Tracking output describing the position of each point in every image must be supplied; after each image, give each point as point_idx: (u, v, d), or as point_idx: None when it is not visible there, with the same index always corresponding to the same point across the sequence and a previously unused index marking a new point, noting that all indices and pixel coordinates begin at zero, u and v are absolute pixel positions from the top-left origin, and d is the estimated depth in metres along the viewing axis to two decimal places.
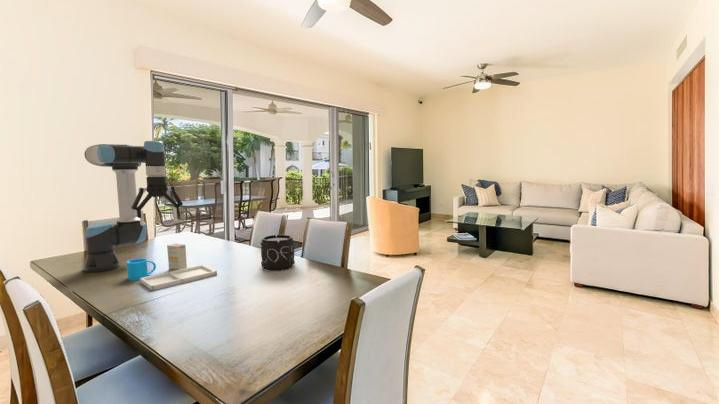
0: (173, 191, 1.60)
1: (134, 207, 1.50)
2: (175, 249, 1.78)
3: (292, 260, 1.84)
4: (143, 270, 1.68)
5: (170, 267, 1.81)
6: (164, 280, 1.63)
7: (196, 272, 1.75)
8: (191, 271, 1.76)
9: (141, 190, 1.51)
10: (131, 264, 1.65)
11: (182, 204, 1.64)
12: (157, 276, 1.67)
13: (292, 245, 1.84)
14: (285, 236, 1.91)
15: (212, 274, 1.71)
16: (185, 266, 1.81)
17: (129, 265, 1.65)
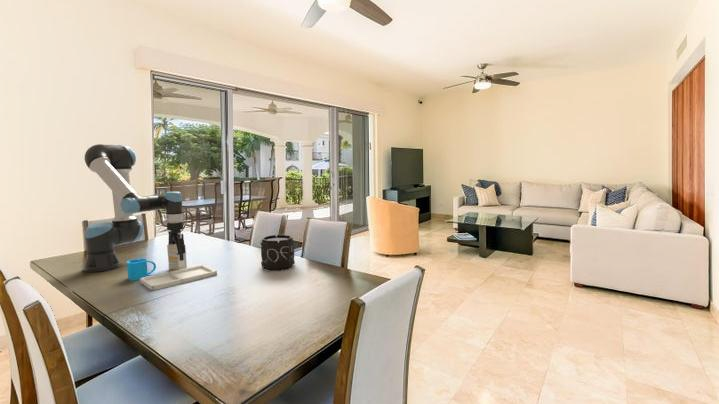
0: (178, 239, 1.75)
1: None
2: (175, 249, 1.78)
3: (292, 260, 1.84)
4: (143, 270, 1.68)
5: (170, 267, 1.81)
6: (164, 280, 1.63)
7: (196, 272, 1.75)
8: (191, 271, 1.76)
9: (168, 233, 1.83)
10: (131, 264, 1.65)
11: (180, 253, 1.75)
12: (157, 276, 1.67)
13: (292, 245, 1.84)
14: (285, 236, 1.91)
15: (212, 274, 1.71)
16: (185, 266, 1.81)
17: (129, 265, 1.65)
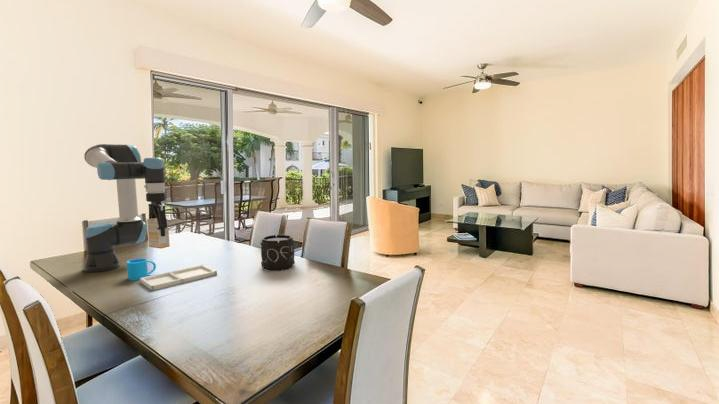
0: (158, 211, 1.53)
1: None
2: (156, 223, 1.56)
3: (292, 260, 1.84)
4: (143, 270, 1.68)
5: (150, 244, 1.59)
6: (164, 280, 1.63)
7: (196, 272, 1.75)
8: (191, 271, 1.76)
9: None
10: (131, 264, 1.65)
11: (161, 227, 1.53)
12: (157, 276, 1.67)
13: (292, 245, 1.84)
14: (285, 236, 1.91)
15: (212, 274, 1.71)
16: (167, 243, 1.59)
17: (129, 265, 1.65)
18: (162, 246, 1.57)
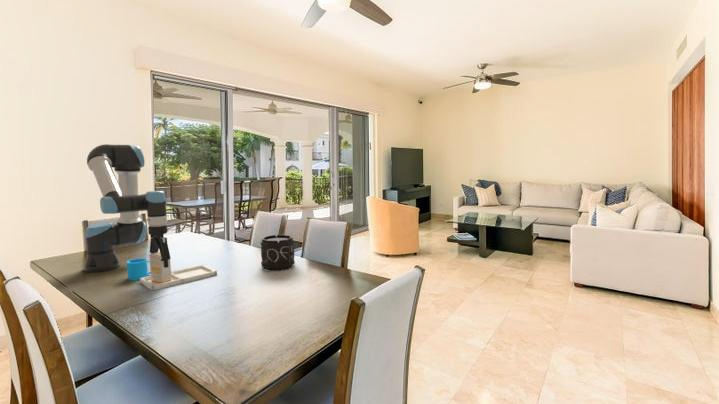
0: (160, 243, 1.54)
1: (150, 250, 1.66)
2: (158, 258, 1.58)
3: (292, 260, 1.84)
4: (143, 270, 1.68)
5: (153, 279, 1.61)
6: None
7: (196, 272, 1.75)
8: (191, 271, 1.76)
9: None
10: (131, 264, 1.65)
11: (164, 259, 1.53)
12: None
13: (292, 245, 1.84)
14: (285, 236, 1.91)
15: (212, 274, 1.71)
16: (169, 278, 1.61)
17: (129, 265, 1.65)
18: (164, 281, 1.59)
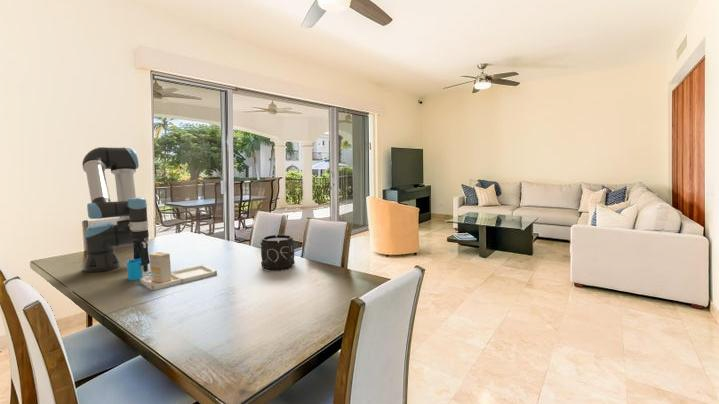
0: (141, 248, 1.65)
1: (134, 257, 1.74)
2: (158, 258, 1.58)
3: (292, 260, 1.84)
4: None
5: (153, 279, 1.61)
6: None
7: (196, 272, 1.75)
8: (191, 271, 1.76)
9: (133, 242, 1.73)
10: (131, 264, 1.65)
11: (143, 264, 1.64)
12: None
13: (292, 245, 1.84)
14: (285, 236, 1.91)
15: (212, 274, 1.71)
16: (169, 278, 1.61)
17: (129, 265, 1.65)
18: (164, 281, 1.59)
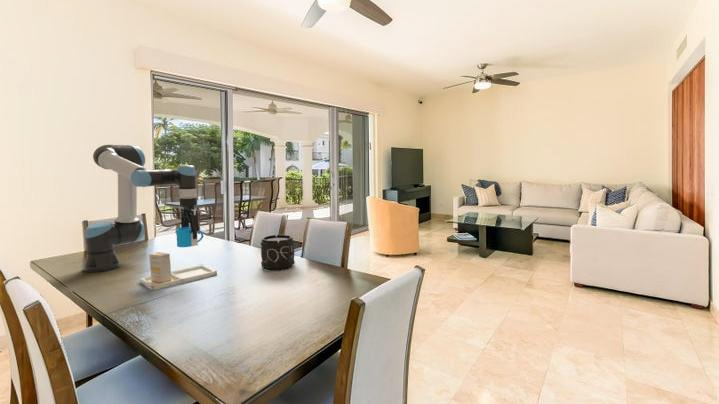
0: (191, 215, 1.64)
1: (181, 226, 1.73)
2: (158, 258, 1.58)
3: (292, 260, 1.84)
4: None
5: (153, 279, 1.61)
6: None
7: (196, 272, 1.75)
8: (191, 271, 1.76)
9: (181, 211, 1.72)
10: (181, 231, 1.64)
11: (193, 231, 1.64)
12: None
13: (292, 245, 1.84)
14: (285, 236, 1.91)
15: (212, 274, 1.71)
16: (169, 278, 1.61)
17: (179, 232, 1.64)
18: (164, 281, 1.59)
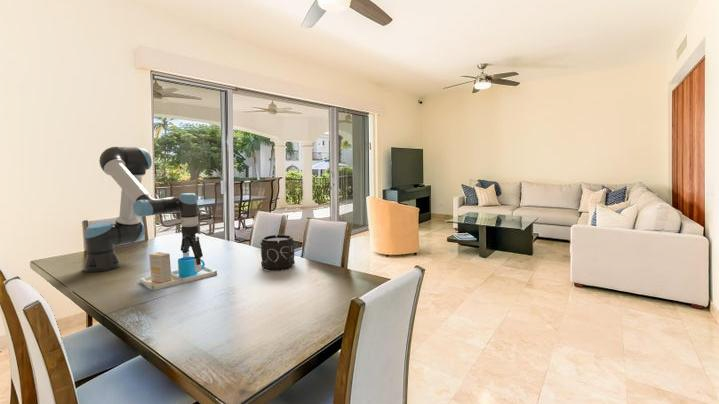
0: (193, 242, 1.65)
1: (181, 249, 1.76)
2: (158, 258, 1.58)
3: (292, 260, 1.84)
4: (194, 268, 1.69)
5: (153, 279, 1.61)
6: None
7: None
8: None
9: (182, 236, 1.73)
10: (183, 262, 1.66)
11: (197, 256, 1.63)
12: None
13: (292, 245, 1.84)
14: (285, 236, 1.91)
15: (212, 274, 1.71)
16: (169, 278, 1.61)
17: (181, 263, 1.66)
18: (164, 281, 1.59)
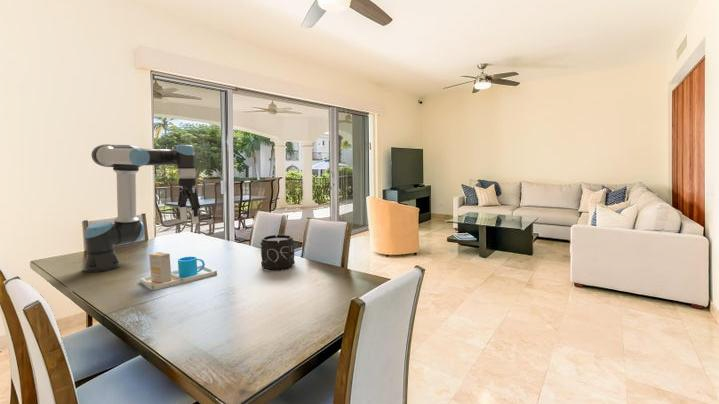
0: (190, 193, 1.62)
1: (178, 203, 1.74)
2: (158, 258, 1.58)
3: (292, 260, 1.84)
4: (194, 268, 1.69)
5: (153, 279, 1.61)
6: None
7: None
8: None
9: (179, 189, 1.71)
10: (183, 262, 1.66)
11: (194, 207, 1.61)
12: None
13: (292, 245, 1.84)
14: (285, 236, 1.91)
15: (212, 274, 1.71)
16: (169, 278, 1.61)
17: (181, 263, 1.66)
18: (164, 281, 1.59)
